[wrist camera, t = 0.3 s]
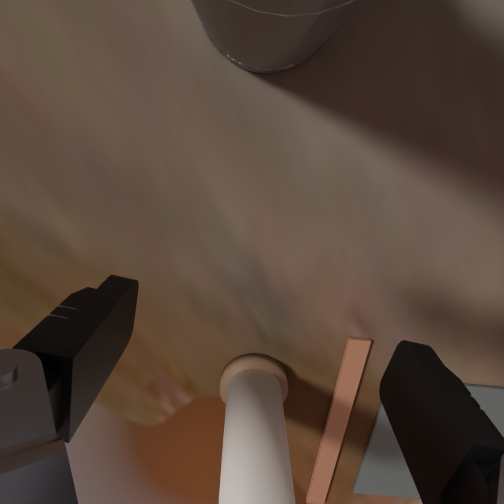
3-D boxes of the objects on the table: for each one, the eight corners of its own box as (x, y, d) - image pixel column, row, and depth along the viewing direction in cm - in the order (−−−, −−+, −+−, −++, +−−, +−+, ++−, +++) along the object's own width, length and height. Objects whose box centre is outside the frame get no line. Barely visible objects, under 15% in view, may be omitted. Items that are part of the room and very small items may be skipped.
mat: (389, 376, 33) (391, 378, 33) (527, 389, 34) (529, 391, 34) (352, 490, 39) (353, 493, 39) (471, 499, 40) (473, 501, 40)
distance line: (348, 336, 32) (349, 339, 31) (369, 338, 32) (371, 341, 32) (305, 499, 40) (306, 502, 39) (323, 500, 40) (323, 504, 39)
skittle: (224, 350, 32) (202, 561, 17) (291, 356, 33) (332, 569, 17) (217, 403, 34) (193, 633, 19) (281, 409, 35) (308, 639, 19)
